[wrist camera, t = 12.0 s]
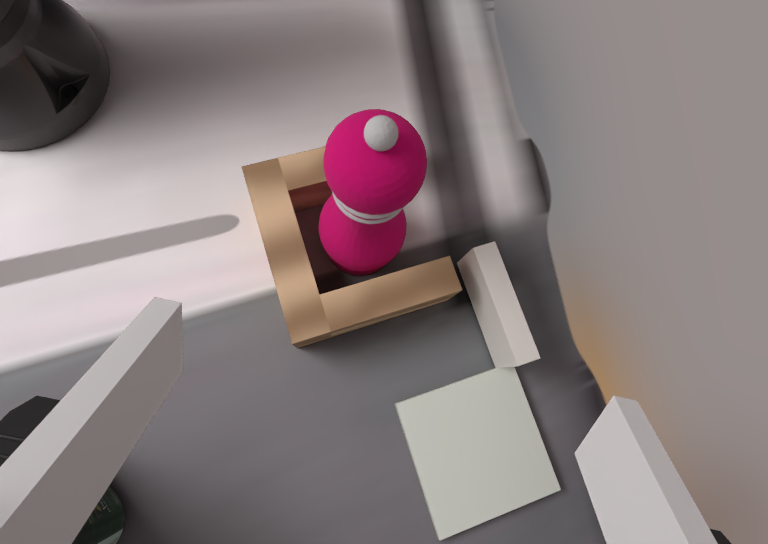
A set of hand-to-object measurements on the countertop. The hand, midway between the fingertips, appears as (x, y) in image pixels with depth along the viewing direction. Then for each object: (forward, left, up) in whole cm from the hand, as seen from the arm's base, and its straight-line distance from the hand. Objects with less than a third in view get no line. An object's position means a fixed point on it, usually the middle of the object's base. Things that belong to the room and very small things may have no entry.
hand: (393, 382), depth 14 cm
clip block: (-12, +3, -26) cm, 28 cm away
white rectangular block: (-2, +13, -25) cm, 29 cm away
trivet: (+8, +8, -26) cm, 28 cm away
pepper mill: (-12, +4, -26) cm, 29 cm away
